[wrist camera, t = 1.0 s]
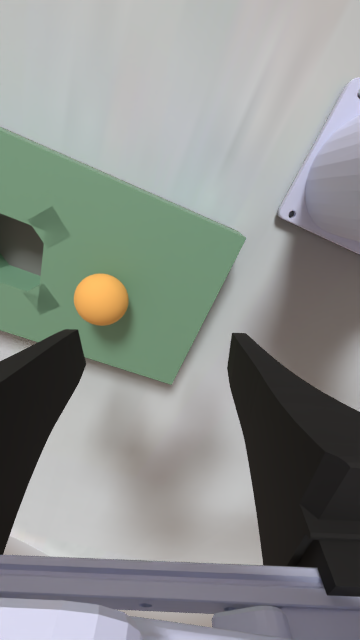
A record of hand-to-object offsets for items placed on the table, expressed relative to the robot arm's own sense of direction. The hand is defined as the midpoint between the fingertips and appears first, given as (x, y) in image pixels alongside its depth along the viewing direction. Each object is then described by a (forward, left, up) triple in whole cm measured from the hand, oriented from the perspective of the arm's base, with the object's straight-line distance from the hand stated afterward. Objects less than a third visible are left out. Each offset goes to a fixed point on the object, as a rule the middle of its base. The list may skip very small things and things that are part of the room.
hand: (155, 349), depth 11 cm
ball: (+4, +1, -5) cm, 7 cm away
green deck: (+7, +1, -10) cm, 12 cm away
